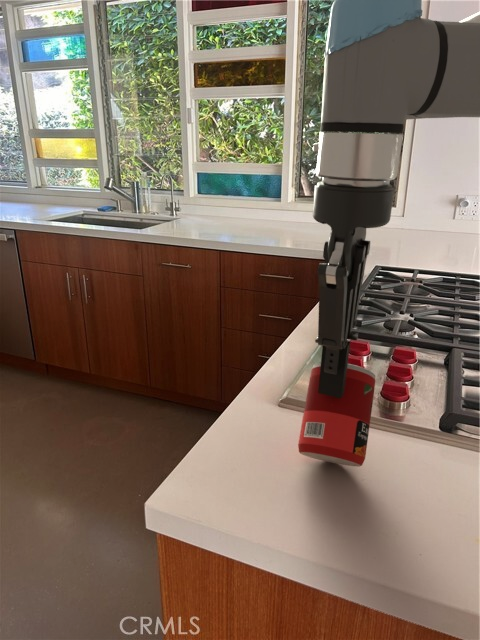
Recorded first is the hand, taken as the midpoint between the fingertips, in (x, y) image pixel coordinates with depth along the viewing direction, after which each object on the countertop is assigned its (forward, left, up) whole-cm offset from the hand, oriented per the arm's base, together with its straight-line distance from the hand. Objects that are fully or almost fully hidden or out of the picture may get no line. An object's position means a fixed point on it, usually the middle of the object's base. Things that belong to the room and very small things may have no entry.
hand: (331, 392), depth 54 cm
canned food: (0, +2, -8) cm, 8 cm away
